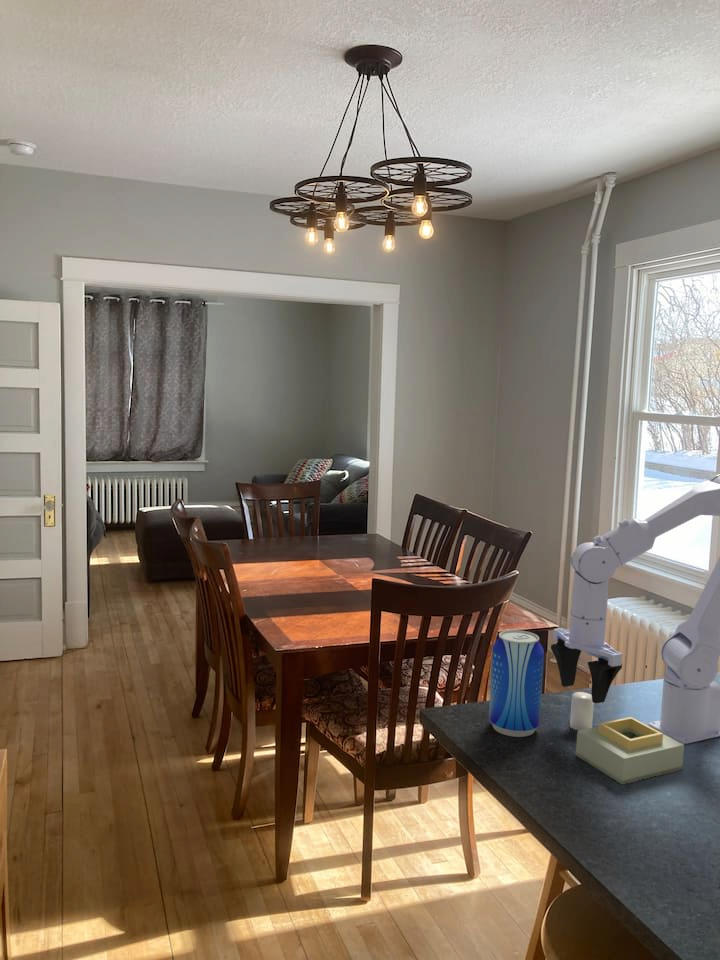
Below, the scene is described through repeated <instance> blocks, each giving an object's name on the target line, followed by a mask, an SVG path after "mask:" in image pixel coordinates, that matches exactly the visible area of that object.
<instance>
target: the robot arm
mask: <svg viewBox="0 0 720 960" xmlns="http://www.w3.org/2000/svg"><path fill="white" fill-rule="evenodd" d="M699 516H716V517H718V516H719V517H720V473H719V474H716V475H714V476H713V477H712V478H710V480H705V481H702V482H700V483H698V484H697V485H696V486H695V487H693V488H692V489H691V490H690V491H688V492H686V493H685V494H682V496H680V497H679V498H677V499H675V500H673V501H672V502H671V503H669V504H667V505H665V506H664V507H663V508H661V509H659V510H657V512H654V513H653V514H652V515H650V516H648V517H647V518H645V519H644V520H641V519H637V518H630V519H629V520H627V519H626V518H623V519H622V520H620V521H619V522H618V525H619V526H617V527H615V528H613V529H612V530H611V529H610V531H608V532H606V533H604V534H603V535H601V536H600V535H598V534H597V535H596V536H594V537H593V542H592V541H591V542H588V541H587V542H583V543H581V544H579V545H578V546H577V547H575V549H574V551H573V553H572V556H570V557H569V559H570V565H571V567H572V568H573V570H574V573H573V584H572V585H573V586H572V590H571V593H572V594H571V604H570V605H571V606H570V608H571V609H570V618H569V619H570V621H569V629H567V628H564V627H560V628H559V627H558V628H554V629H553V637H552V639H553V641H556V643H552V644H551V645H550V650H551V652H552V654H553V656H554V658H555V661H556V664H557V667H558V671H559V677H560V678H559V679H560V682H561V686H562V687H564V688H565V687H571V686H574V685H575V681H576V677H577V676H576V675H577V667H578V663H579V658H580V656H581V654H582V653H581V652H583V653H586V654H588V655H590V656H592V657H595V658H597V660H592V661H587V666H588V669H589V672H590V679H591V695H592V702H594V704H600V703H604V702H605V701H606V699H607V698H606V697H607V695H608V692H609V690H610V688H611V685H612V683H613V681H614V679H615V678H616V676H617V675H618V673H619V672H620V671H621V669H623V663H622V660H623V653H621V652H620V651H618V650H616V649H615V648H614V647H612V646H611V645H610V644H608V643H607V642H606V641H605V638H606V628H607V627H606V624H607V615H608V614H607V613H608V612H607V611H608V596H609V580H610V579H612V577H613V576H614V574H615V572H616V569H617V568H620V567H621V566H623V565H625V564H627V563H629V562H631V561H632V560H634V559H636V558H637V557H639V556H641V555H643V554H645V553H647V552H648V551H649V550H652V548H654V547H653V546H654V544H655V540H656V538H657V537H659V536H661V535H663V534H665V533H668V532H669V531H671V530H673V529H675V528H677V527H679V526H681V525H683V524H686V523H687V522H689V521H691V520H693V519H695V518H697V517H699ZM660 657H661V659H662V661H663V663H664V664H665V665H666V666H665V667H666V668H665V672H664V673H663V685H662V692H661V693H662V696H661V705H660V706H661V708H660V709H661V710H660V720H655V721H650V722H648V723H647V725H648V726H649V727H651V728H653V729H655V730H657V731H659V732H661V733H663V734H665V735H666V736H668V737H670V738H672V739H674V740H676V741H678V742H680V743H682V744H684V745H687V744H692V743H695V742H699V741H704V740H709V739H713V738H717V737H720V685H719V684H718V683H717V682H716V681H715V679H716V678H717V676H718V672H719V671H718V670H719V667H718V665H719V659H720V556H719V558H718V560H717V562H716V564H715V566H714V567H713V570H712V572H711V573H710V575H709V577H708V579H707V582H706V584H705V585H704V587H703V590H702V592H701V594H700V595H699V597H698V600H697V602H696V603H695V606H694V607H693V610H692V611H691V613H690V615H689V618H688V619H687V620H685V621H684V622H681V623H680V624H678V626H677V628H676V629H675V631H674V632H673V633H672V634H671V635H670V636H669V637H668V638H667V639H665V640H664V642H663V643H662V645H661V648H660Z"/></svg>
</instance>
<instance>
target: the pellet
mask: <svg viewBox="0 0 720 960" xmlns="http://www.w3.org/2000/svg"><path fill="white" fill-rule="evenodd" d="M594 705H595V703H594V702H592V693H591V694H590V693H587V692H584V691H577V692H576V691H575V692H573V693H571V705H570V717H569V719H570V720H569V728H571V729H572V728H573V729H572V730H574V729H575V730H574V731H576V730H578V731H580V730H585V729H590V728H593V719H594V717H593V715H594Z"/></svg>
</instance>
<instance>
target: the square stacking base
mask: <svg viewBox="0 0 720 960" xmlns="http://www.w3.org/2000/svg"><path fill="white" fill-rule="evenodd" d="M576 732H577V733H576V749H575V757H577V758H579V759H581V760H582V761H584V762H585V763H586V764H587V763H588V765H590V766H592V767H593V768H595V769H596V770H597V771H598V770H599V771H600V772H601V773H603V774H604V775H605V776H608V777H609V778H611V779H612V778H613V779H612V780H614V781H615V780H616V782H617V783H619V784H620V785H622V786H623V784H624V785H627V784H626V783H628V784H631V782H632V783H635V781H636V782H639V780H640V781H643V780H642V779H644V780H647V778H648V779H651V778H650V777H652V778H655V777H654V776H656V777H659V775H660V776H662V775H663V774H664V775H667V773H668V774H671V773H676V772H679V771H682V770H683V763H684V761H683V760H684V752H685V751H684V750H685V744H683V743H681V742H679V741H677V740H675V739H673V738H671V737H669V736H667V735H665V734H663V733H662V732H660V731H658V730H656V729H654V728H652V727H650V726H649V725H648V724H645V723H643V722H642V721H640V720H638V719H636V718H634V717H632V716H629V717H625V718H619V719H614V720H608V721H603V722H600V723H598V726H596V727H592V728H590V729H585V730H580V731H576Z"/></svg>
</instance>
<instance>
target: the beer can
mask: <svg viewBox="0 0 720 960" xmlns="http://www.w3.org/2000/svg"><path fill="white" fill-rule="evenodd" d="M544 651H545V650H544V648H543V647H542V644H541V643H540V637H539V635H537V634H536V633H533V632H530V631H526V630H521V629H520V630H519V629H507V630H503V631H500V632H499V634H498V637H497V639H496V641H495V642H494V643H493V646H492V653H491V672H490V687H489V688H490V692H489V707H488V721H489V723H491V725H492V727H493V730H495V731H496V732H497V733H499V734H501V735H505V736H507V737H513V738H515V737H517V738H523V737H529V736H531V735H533V734H534V733H535V731H536V730H537V729H538V728H539V727H540V724H541V707H542V691H543V673H544V661H545V660H544V658H545V652H544Z"/></svg>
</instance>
